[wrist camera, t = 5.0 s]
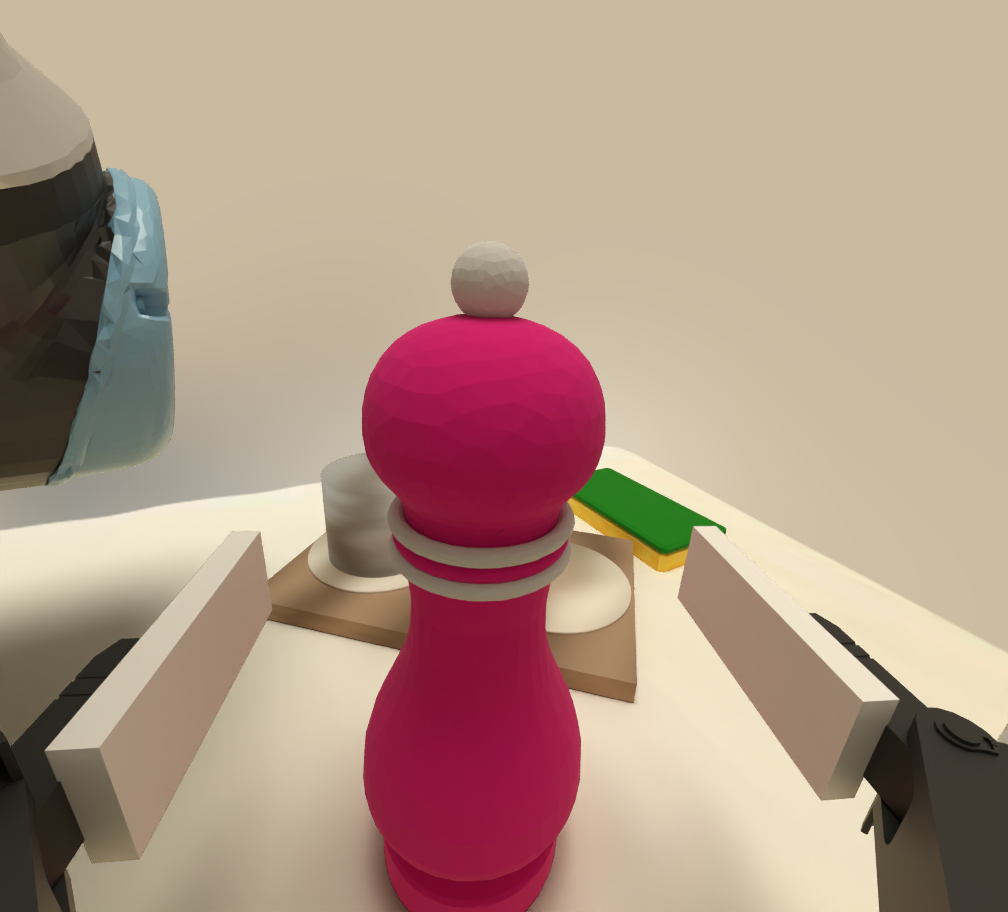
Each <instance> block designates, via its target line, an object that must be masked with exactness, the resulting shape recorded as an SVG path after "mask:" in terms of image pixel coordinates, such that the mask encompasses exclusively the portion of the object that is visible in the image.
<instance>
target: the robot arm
mask: <svg viewBox="0 0 1008 912" xmlns="http://www.w3.org/2000/svg"><path fill="white" fill-rule="evenodd" d="M167 283H168V269H167V258H166V249H165V240H164V232H163V225H162V218H161V213H160V207H159V204H158V200H157V196H156V194H155V192H154V190H153V189H152V188H151V187H150V186H149V185H148V184H147V183H146V182H144V181H143V180H140V179H137V178H133V177H129V176H128V175H127V174H126V173H125V172H123V171H122V170H116V169H114V168H107V169H106V171H102V168H101V164H100V161H99V157H98V153H97V149H96V146H95V142H94V138H93V133H92V130H91V127H90V123H89V120H88V118H87V116H86V115H85V113H84V112H83V110H82V108H81V107H80V106H79V105H78V104H77V103H76V102H75V100H74V99H72V98H71V97H70V96H69V95H68V94H66V93H65V92H64V91H63V90H62V89H61V88H59V87H58V86H57V85H56V84H55V83H54V82H52V81H51V80H50V79H49V78H48V77H46V76H45V75H44V74H43V73H42V72H41V71H39V70H38V69H37V68H36V67H35V66H34V65H32V64H31V63H30V62H29V61H27V60H26V59H25V58H24V57H23V56H22V55H21V54H19V53H18V52H17V51H16V50H15V49H13V48H12V47H11V46H10V45H9V44H8V43H7V42H6V41H5V39H4V38H3V36H2V34H1V33H0V491H3V490H11V489H19V488H27V487H34V486H42V485H44V486H54V485H59V484H62V483H64V482H66V481H67V480H69V479H71V478H77V477H82V476H87V475H93V474H98V473H103V472H108V471H113V470H119V469H124V468H130V467H134V466H139V465H141V464H144V463H146V462H149V461H150V460H152V459H153V458H155V457H156V456H158V455H159V454H160V453H161V452H162V451H163V450H164V449H165V448H166V446H167V445H168V443H169V441H170V439H171V436H172V432H173V427H174V414H175V377H174V355H173V354H174V353H173V337H172V324H171V318H170V313H169V311H168V304H169V293H168V285H167ZM678 599H679V600H680V602H681V603H682V604H683V606H684V607H685V609H686V610H687V611H688V613H689V614H690V616H691V617H692V619H693V620H694V621H695V623H696V624H697V626H698V627H699V628H700V630H701V631H702V633H703V634H704V636H705V637H706V638H707V640H708V641H709V643H710V644H711V645H712V647H713V648H714V650H715V651H716V653H717V654H718V655H719V657H720V658H721V660H722V661H723V662H724V664H725V665H726V667H727V668H728V670H729V671H730V672H731V674H732V675H733V677H734V678H735V679H736V681H737V682H738V684H739V685H740V687H741V688H742V689H743V691H744V692H745V694H746V695H747V696H748V698H749V699H750V701H751V702H752V704H753V705H754V706H755V708H756V709H757V711H758V712H759V713H760V715H761V716H762V718H763V719H764V721H765V722H766V723H767V725H768V726H769V728H770V729H771V730H772V732H773V733H774V735H775V736H776V738H777V739H778V740H779V742H780V743H781V745H782V746H783V747H784V749H785V750H786V752H787V753H788V755H789V756H790V757H791V759H792V760H793V762H794V763H795V764H796V766H797V767H798V769H799V770H800V772H801V773H802V774H803V776H804V777H805V779H806V780H807V781H808V783H809V784H810V786H811V787H812V789H813V790H814V791H815V793H816V794H817V796H818V797H819V798H820V800H821V801H822V800H833V799H845V798H854V797H855V795H856V793H857V791H858V788H859V786H860V784H861V782H862V780H863V778H865V779H866V780H867V781H868V782H869V784H870V785H871V786H872V787H873V788H874V790H875V791H876V792H877V795H876V797H875V799H874V801H873V803H872V805H871V807H870V809H869V811H868V813H867V815H866V818H865V820H864V822H863V824H862V828H861V832H863V833H865V834H868V832H869V830H870V828H871V826H874V836H875V851H876V867H877V882H878V897H879V912H1008V744H1005V743H1001V742H997V741H996V740H995V739H993V738H992V737H991V736H990V735H989V734H988V733H987V732H986V731H984V730H983V729H982V728H980V727H979V726H977V725H976V724H974V723H973V722H971V721H969V720H967V719H965V718H963V717H961V716H959V715H957V714H955V713H953V712H949V711H946V710H943V709H939V708H927V707H926V706H925V705H924V704H923V703H922V702H921V701H919V700H918V699H917V698H916V697H915V696H914V695H913V694H912V693H911V692H910V691H908V690H907V689H906V688H905V687H904V686H903V685H902V684H901V683H900V682H898V681H897V680H896V679H895V678H894V677H893V676H892V675H891V674H890V673H889V672H887V671H886V670H885V669H884V668H883V667H882V666H881V665H880V664H879V663H878V662H876V661H875V660H874V659H871V658H870V657H869V654H868V653H866V652H865V651H864V650H863V649H862V648H861V647H860V646H859V645H855V642H854V641H853V640H852V639H851V638H850V637H849V636H848V635H847V634H845V633H844V632H843V631H842V630H841V629H840V628H839V627H838V626H836V625H834V624H833V623H831V622H829V621H828V620H826V619H824V618H823V617H821V616H820V615H818V614H816V613H807V612H806V611H805V610H804V609H803V608H802V607H801V606H800V605H799V604H798V603H797V602H796V601H795V600H794V599H793V598H792V597H790V596H789V595H788V594H787V593H786V592H785V591H784V590H783V589H782V588H781V587H780V586H779V585H778V584H777V583H776V582H775V581H774V580H772V579H771V578H770V577H769V576H768V575H767V574H766V573H765V572H764V571H763V570H762V569H761V568H760V567H759V566H758V565H757V564H755V563H754V562H753V561H752V560H751V559H750V558H749V557H748V556H747V555H746V554H745V553H744V552H743V551H742V550H741V549H740V548H739V547H737V546H736V545H735V544H734V543H733V542H732V541H731V540H730V539H729V538H728V537H727V536H726V535H725V534H724V533H723V532H722V531H721V530H719V529H718V528H717V527H716V526H693V530H692V534H691V539H690V544H689V548H688V553H687V557H686V562H685V567H684V571H683V576H682V580H681V585H680V590H679V594H678ZM271 611H272V604H271V598H270V592H269V585H268V579H267V572H266V566H265V559H264V553H263V546H262V540H261V534H260V531H232V532H231V533H230V534H229V535H228V536H227V538H226V539H225V540H224V541H223V542H222V543H221V545H220V546H219V547H218V548H217V549H216V550H215V552H214V553H213V554H212V555H211V556H210V557H209V559H208V560H207V561H206V562H205V563H204V564H203V566H202V567H201V568H200V569H199V570H198V572H197V573H196V574H195V575H194V576H193V577H192V579H191V580H190V581H189V582H188V583H187V584H186V586H185V587H184V588H183V589H182V590H181V591H180V593H179V594H178V595H177V596H176V597H175V598H174V600H173V601H172V602H171V603H170V604H169V605H168V607H167V608H166V609H165V610H164V611H163V613H162V614H161V615H160V616H159V617H158V618H157V620H156V621H155V622H154V623H153V624H152V625H151V627H150V628H149V629H148V630H147V631H146V632H145V634H144V635H143V636H142V637H141V638H133V639H121V640H119V641H118V642H116V643H115V644H113V645H112V646H110V647H109V648H107V649H106V650H104V651H103V652H101V653H100V654H98V655H97V656H95V657H94V658H93V659H92V660H91V662H90V663H89V664H88V665H87V666H86V667H85V668H84V669H83V670H82V671H81V672H80V673H79V674H78V675H77V677H76V679H75V681H74V682H71V683H70V684H69V685H68V686H67V687H66V688H65V689H64V691H63V692H62V693H61V694H60V695H59V699H57V700H54V701H53V702H52V703H51V704H50V706H49V707H48V708H47V709H46V710H45V711H44V712H43V713H42V714H41V715H40V716H39V717H38V718H37V720H36V721H35V722H34V723H33V724H32V725H31V726H30V727H29V728H28V729H27V730H26V731H25V732H24V733H23V735H22V736H21V737H20V738H19V739H18V740H17V741H16V742H15V743H14V744H13V745H12V746H11V747H10V745H9V743H8V741H7V739H6V737H5V736H4V734H3V733H2V732H1V731H0V912H76V910H75V904H74V898H73V891H72V885H71V879H70V877H69V875H68V872H67V870H66V867H67V866H68V864H69V863H70V861H71V860H72V858H73V857H74V855H75V854H76V852H77V850H78V849H79V847H80V846H81V844H82V843H83V844H84V846H85V848H86V851H87V853H88V855H89V858H90V860H91V863H102V862H114V861H126V860H137V859H140V857H141V856H142V854H143V852H144V850H145V848H146V846H147V844H148V842H149V841H150V839H151V837H152V835H153V833H154V831H155V829H156V827H157V825H158V824H159V822H160V820H161V818H162V816H163V814H164V812H165V810H166V809H167V807H168V805H169V803H170V801H171V799H172V797H173V795H174V794H175V792H176V790H177V788H178V786H179V784H180V782H181V780H182V778H183V777H184V775H185V773H186V771H187V769H188V767H189V765H190V763H191V762H192V760H193V758H194V756H195V754H196V752H197V750H198V748H199V747H200V745H201V743H202V741H203V739H204V737H205V735H206V733H207V732H208V730H209V728H210V726H211V724H212V722H213V720H214V718H215V716H216V715H217V713H218V711H219V709H220V707H221V705H222V703H223V701H224V700H225V698H226V696H227V694H228V692H229V690H230V688H231V686H232V685H233V683H234V681H235V679H236V677H237V675H238V673H239V671H240V669H241V668H242V666H243V664H244V662H245V660H246V658H247V656H248V654H249V653H250V651H251V649H252V647H253V645H254V643H255V641H256V639H257V638H258V636H259V634H260V632H261V630H262V628H263V626H264V624H265V622H266V621H267V619H268V617H269V615H270V613H271Z"/></svg>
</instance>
